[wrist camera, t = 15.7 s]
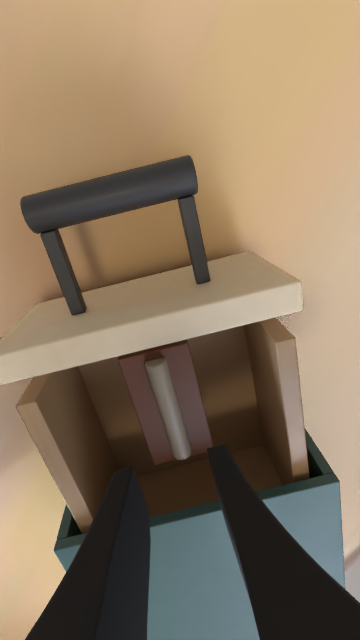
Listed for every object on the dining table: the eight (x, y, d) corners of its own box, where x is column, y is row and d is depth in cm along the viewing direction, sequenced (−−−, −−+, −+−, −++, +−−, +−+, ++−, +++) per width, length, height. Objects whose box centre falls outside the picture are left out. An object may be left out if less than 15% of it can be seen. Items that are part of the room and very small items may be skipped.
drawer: (-5, 209, 15) (-99, 219, 10) (235, 149, 15) (288, 122, 10) (111, 479, 22) (97, 581, 16) (277, 438, 22) (323, 526, 16)
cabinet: (85, 430, 21) (52, 551, 14) (275, 383, 21) (340, 481, 14) (142, 560, 27) (139, 696, 20) (295, 523, 27) (348, 646, 19)
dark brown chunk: (124, 322, 17) (116, 366, 13) (179, 309, 17) (189, 348, 13) (153, 412, 19) (154, 474, 15) (202, 400, 19) (216, 459, 15)
